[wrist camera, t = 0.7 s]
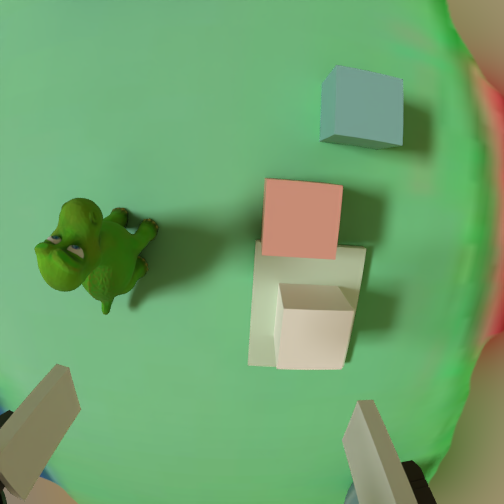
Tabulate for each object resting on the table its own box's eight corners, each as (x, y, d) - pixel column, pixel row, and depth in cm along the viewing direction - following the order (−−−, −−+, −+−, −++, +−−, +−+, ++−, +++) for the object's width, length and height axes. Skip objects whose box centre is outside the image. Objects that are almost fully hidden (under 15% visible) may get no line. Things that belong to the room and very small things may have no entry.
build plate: (255, 239, 30) (255, 258, 24) (363, 246, 30) (389, 266, 24) (248, 360, 34) (246, 400, 27) (341, 362, 34) (356, 399, 27)
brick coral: (264, 177, 29) (266, 178, 23) (326, 182, 29) (343, 185, 23) (260, 239, 31) (261, 255, 25) (321, 243, 31) (335, 259, 25)
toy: (171, 198, 30) (99, 223, 15) (136, 316, 33) (74, 399, 18) (120, 178, 29) (24, 189, 15) (91, 295, 32) (15, 362, 18)
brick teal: (321, 84, 27) (336, 65, 21) (378, 93, 27) (402, 79, 21) (319, 141, 28) (334, 134, 22) (376, 149, 28) (402, 145, 22)
